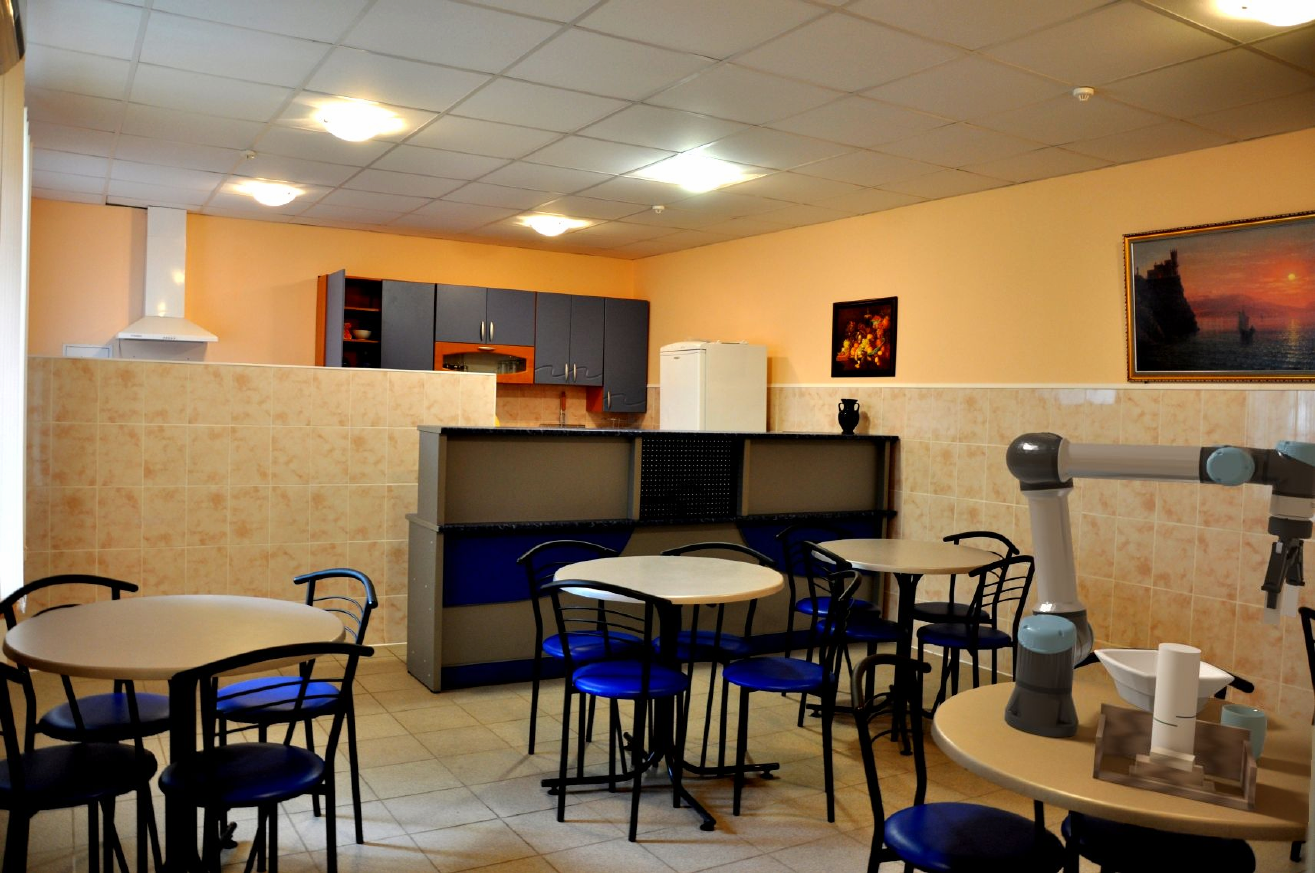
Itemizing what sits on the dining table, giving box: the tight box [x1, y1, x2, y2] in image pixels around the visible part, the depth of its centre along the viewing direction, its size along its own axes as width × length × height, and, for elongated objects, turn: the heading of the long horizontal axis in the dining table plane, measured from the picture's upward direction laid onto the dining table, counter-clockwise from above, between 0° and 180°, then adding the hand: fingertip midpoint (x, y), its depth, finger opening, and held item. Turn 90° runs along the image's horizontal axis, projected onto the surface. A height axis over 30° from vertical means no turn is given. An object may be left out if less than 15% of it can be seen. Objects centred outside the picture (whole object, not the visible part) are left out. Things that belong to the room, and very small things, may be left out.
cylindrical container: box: [1151, 642, 1202, 755], centre depth 183 cm, size 7×7×25 cm
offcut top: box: [1149, 746, 1195, 772], centre depth 178 cm, size 7×4×2 cm, turn 54°
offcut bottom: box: [1128, 764, 1216, 794], centre depth 178 cm, size 14×4×2 cm, turn 63°
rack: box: [1092, 702, 1258, 813], centre depth 182 cm, size 26×17×10 cm, turn 62°
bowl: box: [1094, 648, 1235, 714], centre depth 230 cm, size 24×25×10 cm
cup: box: [1220, 704, 1268, 762], centre depth 195 cm, size 8×8×10 cm
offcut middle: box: [1135, 754, 1205, 787], centre depth 178 cm, size 11×4×2 cm, turn 64°
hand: (1279, 620), depth 194 cm, fingers open, 13 cm apart
